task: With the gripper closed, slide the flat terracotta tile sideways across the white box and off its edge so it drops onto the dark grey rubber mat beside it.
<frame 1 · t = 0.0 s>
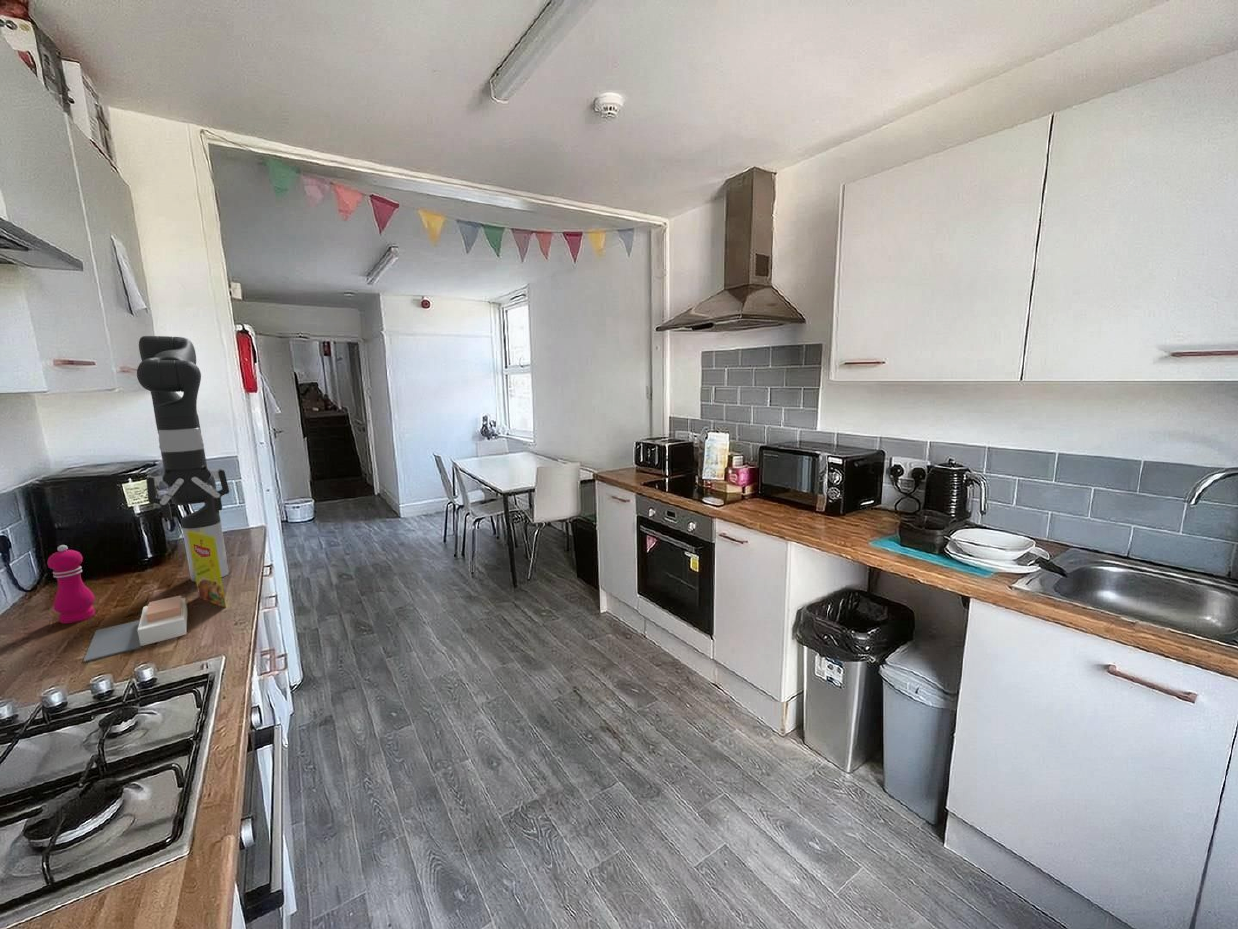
hand: (194, 516, 115), 29 cm above the countertop, tool pointing down, fingers open, 8 cm apart
white box: (165, 627, 122), on the countertop
terracotta tile: (165, 612, 121), point 4 cm above the countertop, touching white box
food package: (212, 602, 136), on the countertop
pepper mill: (78, 618, 128), on the countertop
rubber mat: (117, 639, 116), on the countertop
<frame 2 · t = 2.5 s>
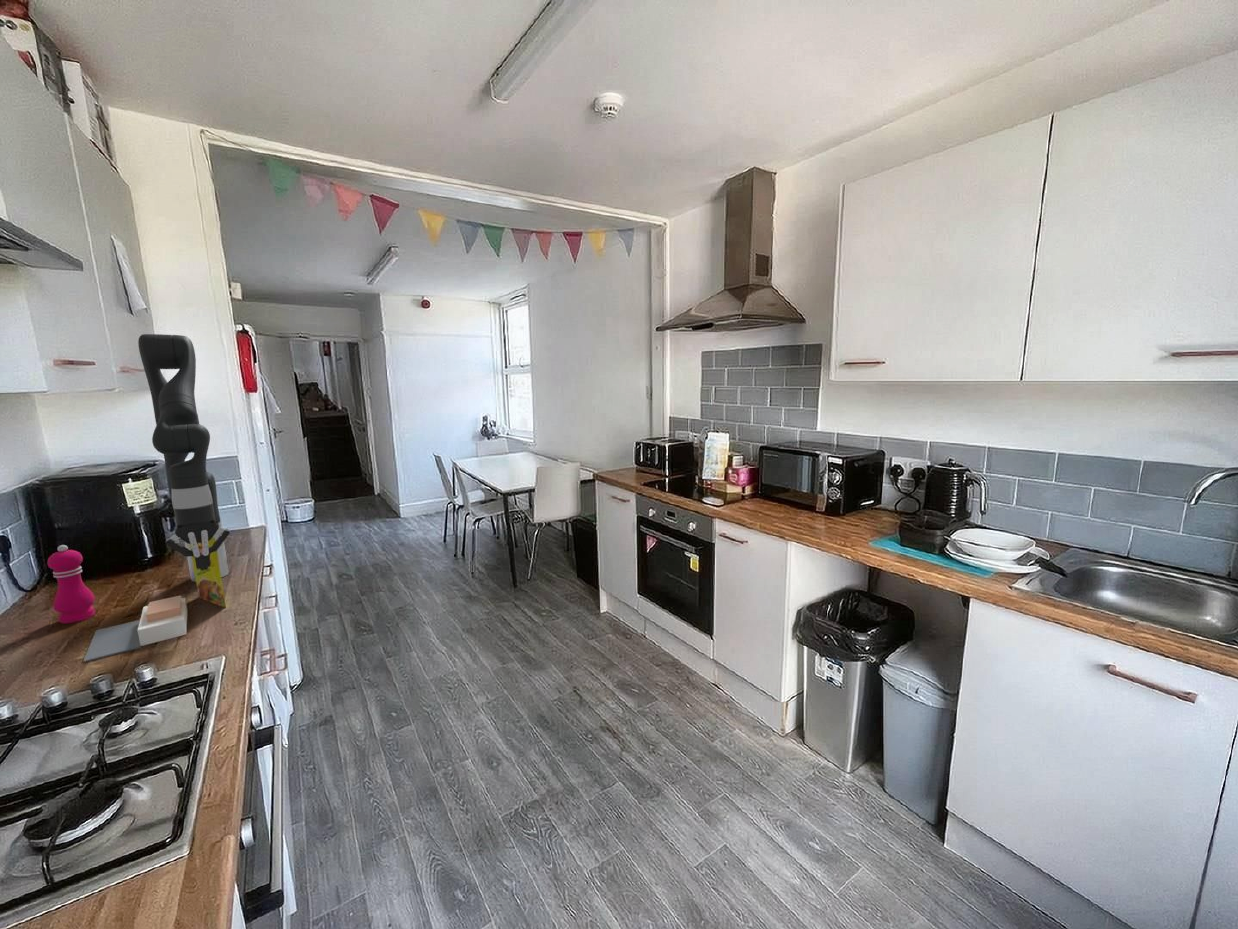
hand: (204, 569, 125), 13 cm above the countertop, tool pointing down, fingers closed
nothing on the countertop moved.
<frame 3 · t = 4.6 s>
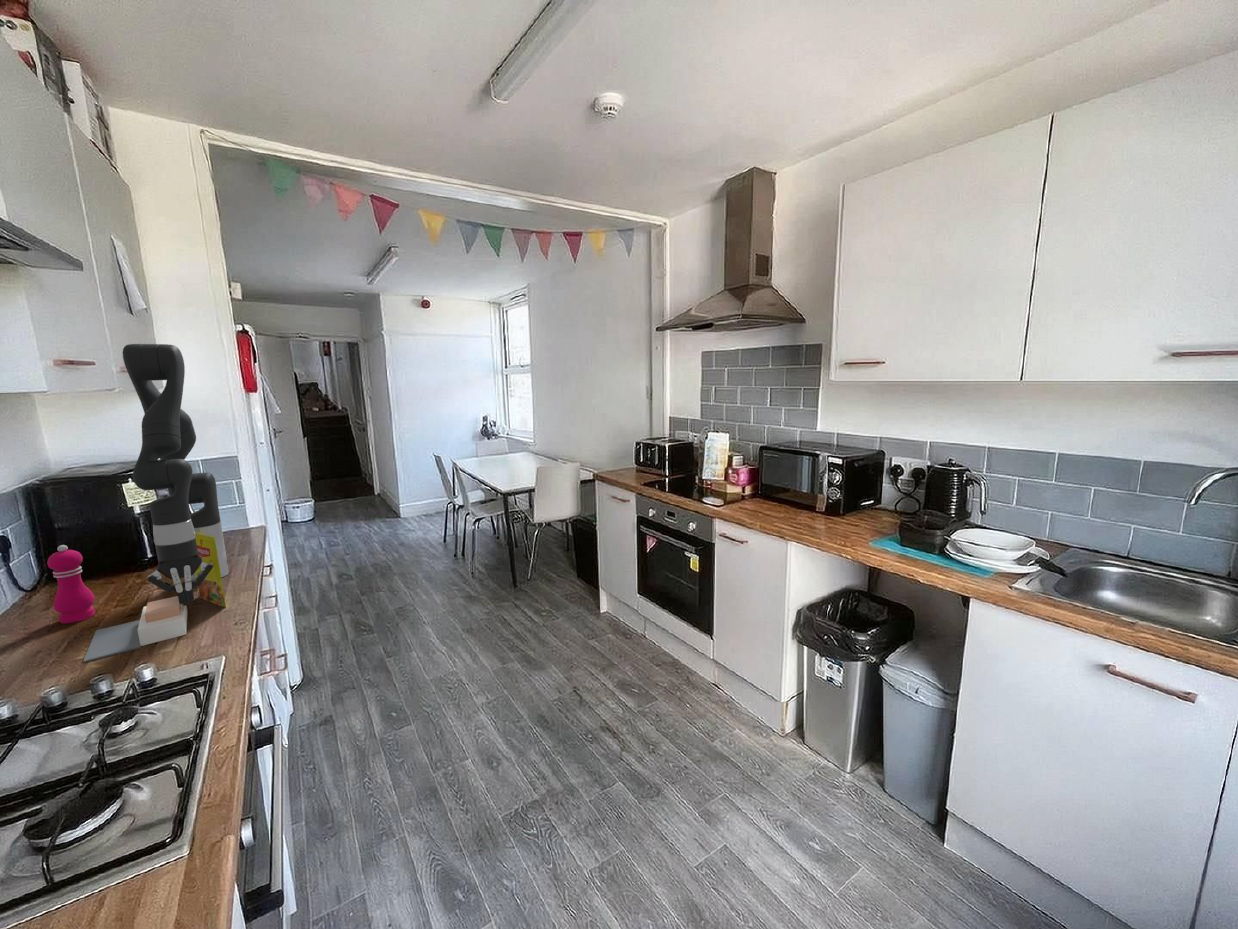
hand: (187, 604, 124), 5 cm above the countertop, tool pointing down, fingers closed
terracotta tile: (164, 612, 121), point 4 cm above the countertop, touching white box, gripper
everything else where it was.
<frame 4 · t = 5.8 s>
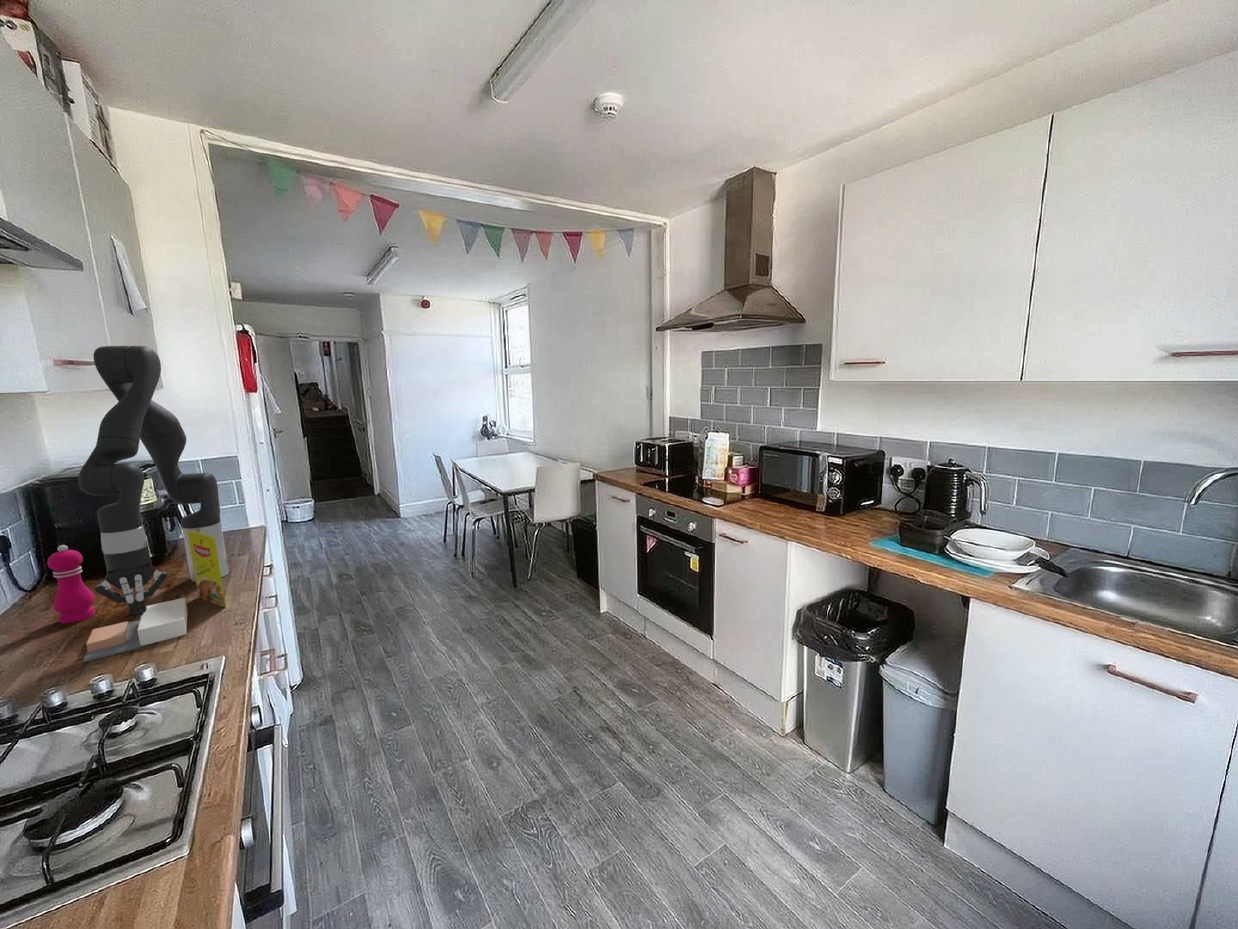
hand: (139, 615, 118), 5 cm above the countertop, tool pointing down, fingers closed
terracotta tile: (107, 632, 115), point 2 cm above the countertop, tilted 180°, touching rubber mat
everything else where it was.
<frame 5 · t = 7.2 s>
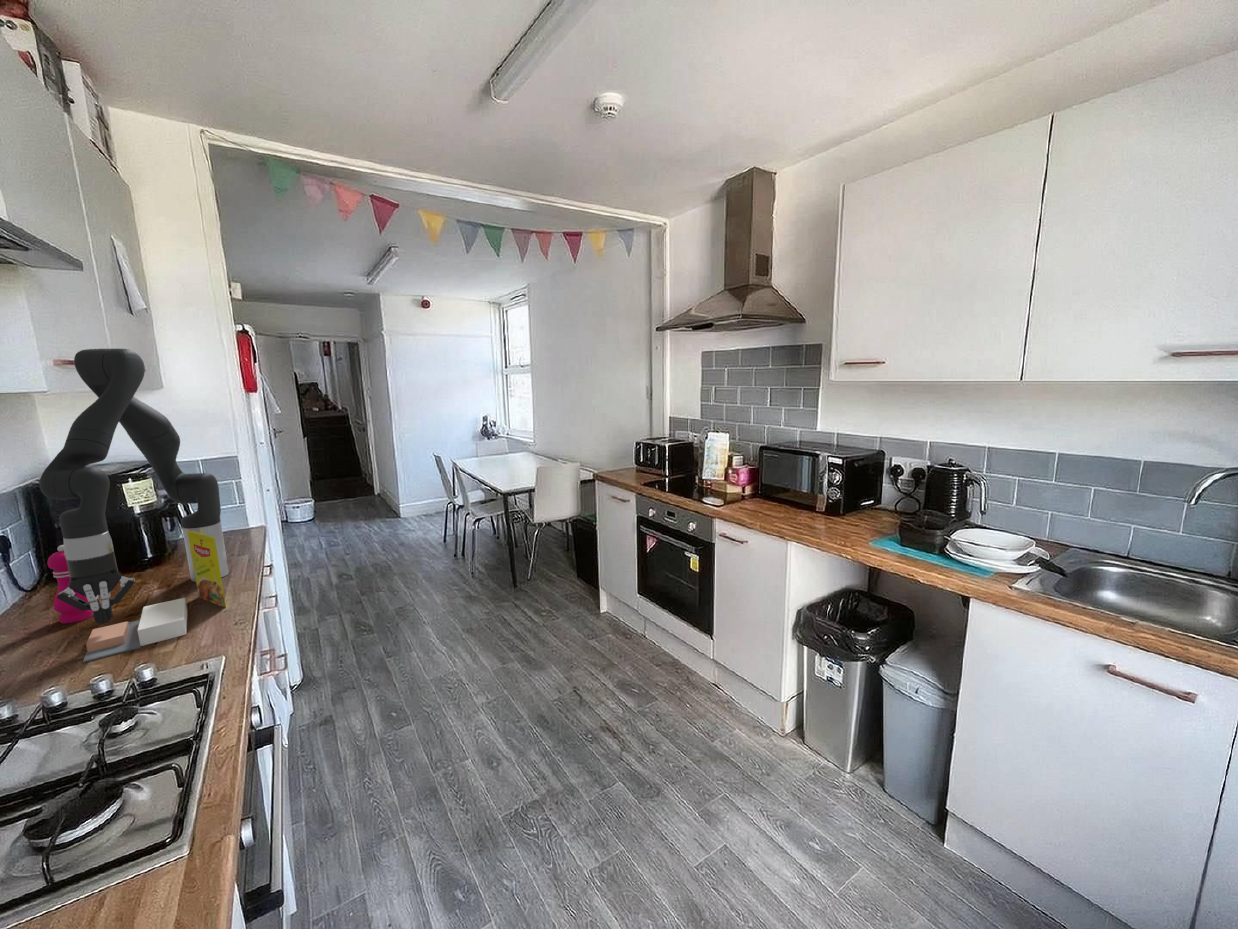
hand: (104, 623, 115), 5 cm above the countertop, tool pointing down, fingers closed
nothing on the countertop moved.
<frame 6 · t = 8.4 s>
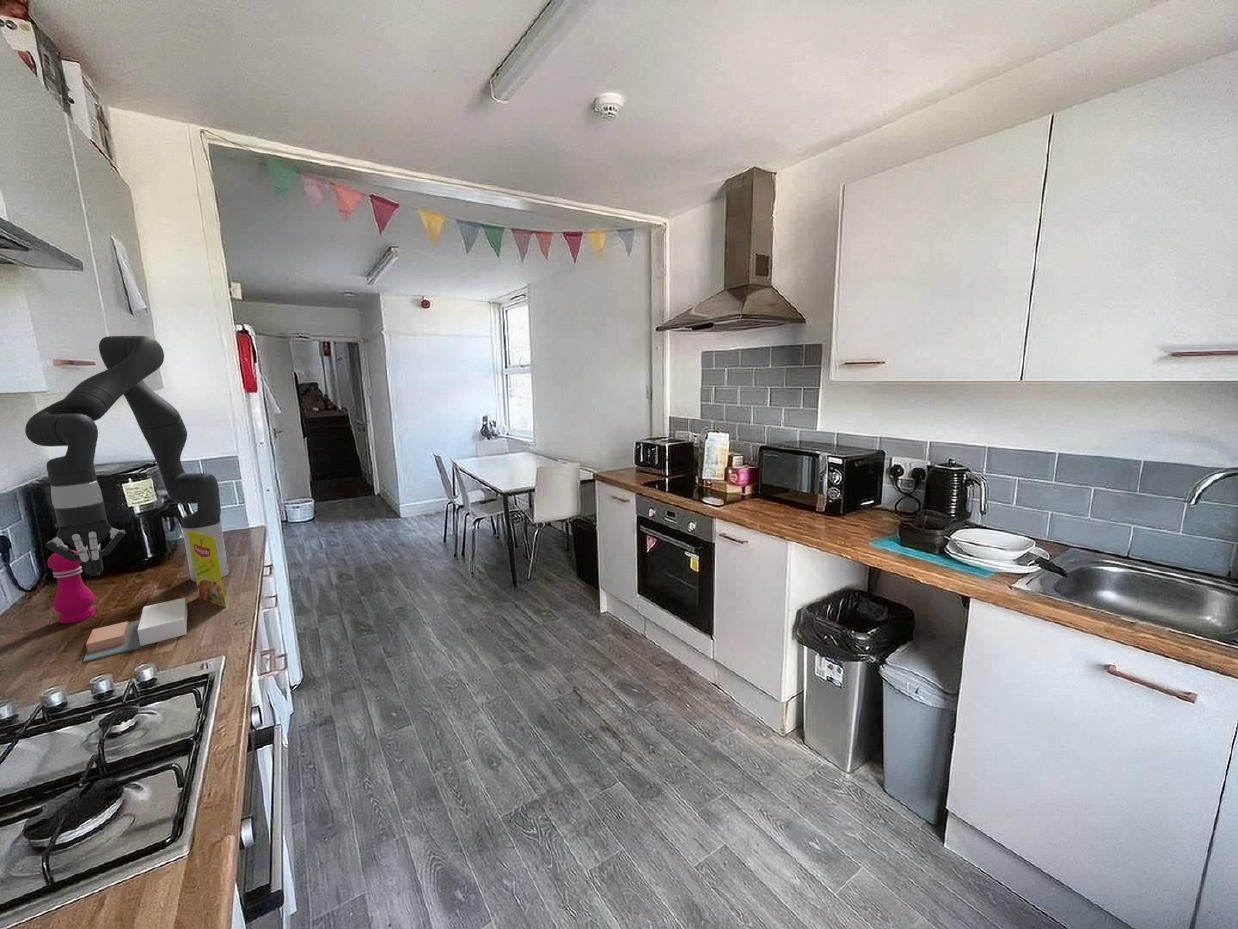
hand: (95, 574, 113), 17 cm above the countertop, tool pointing down, fingers closed
nothing on the countertop moved.
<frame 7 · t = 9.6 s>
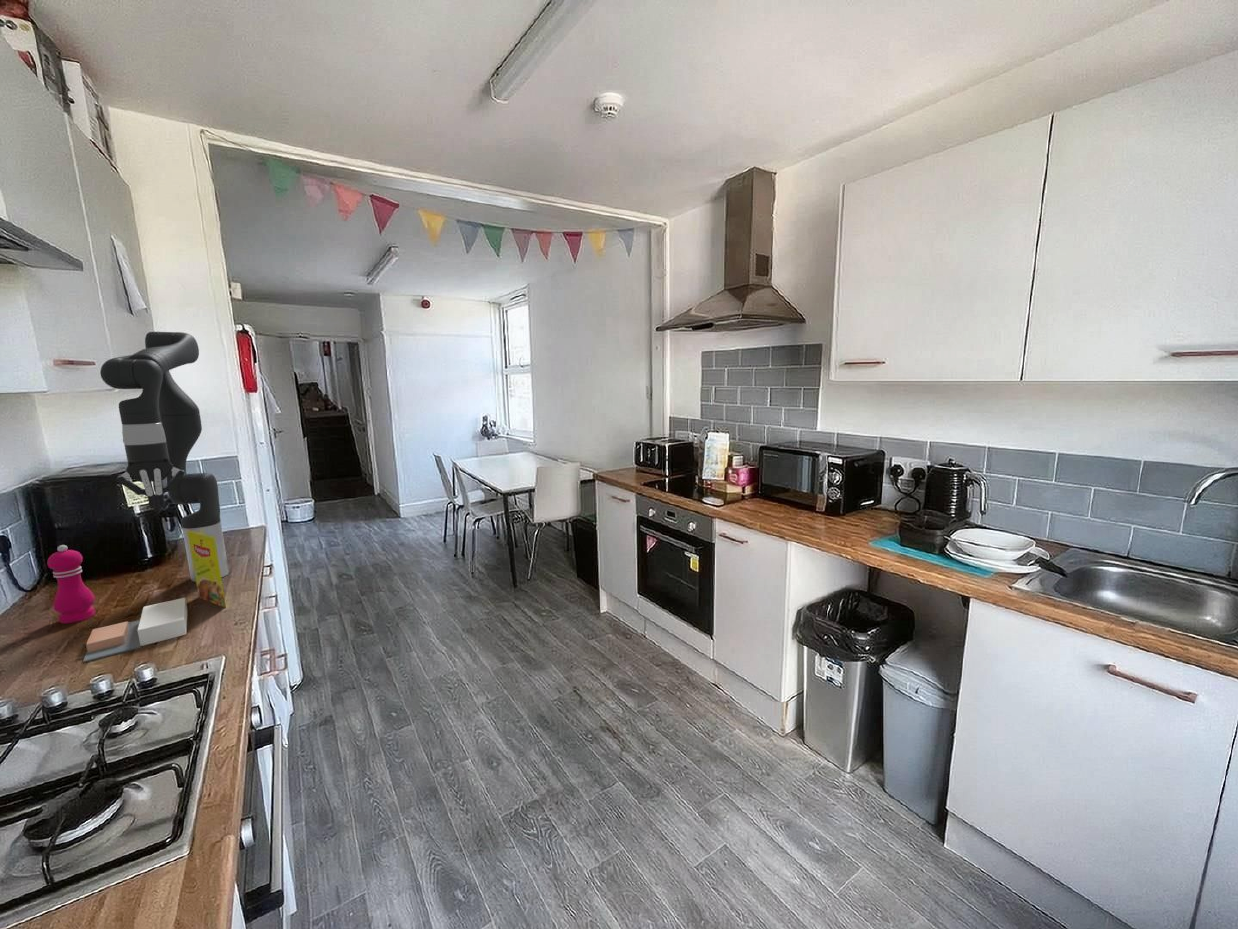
hand: (157, 509, 123), 29 cm above the countertop, tool pointing down, fingers closed
nothing on the countertop moved.
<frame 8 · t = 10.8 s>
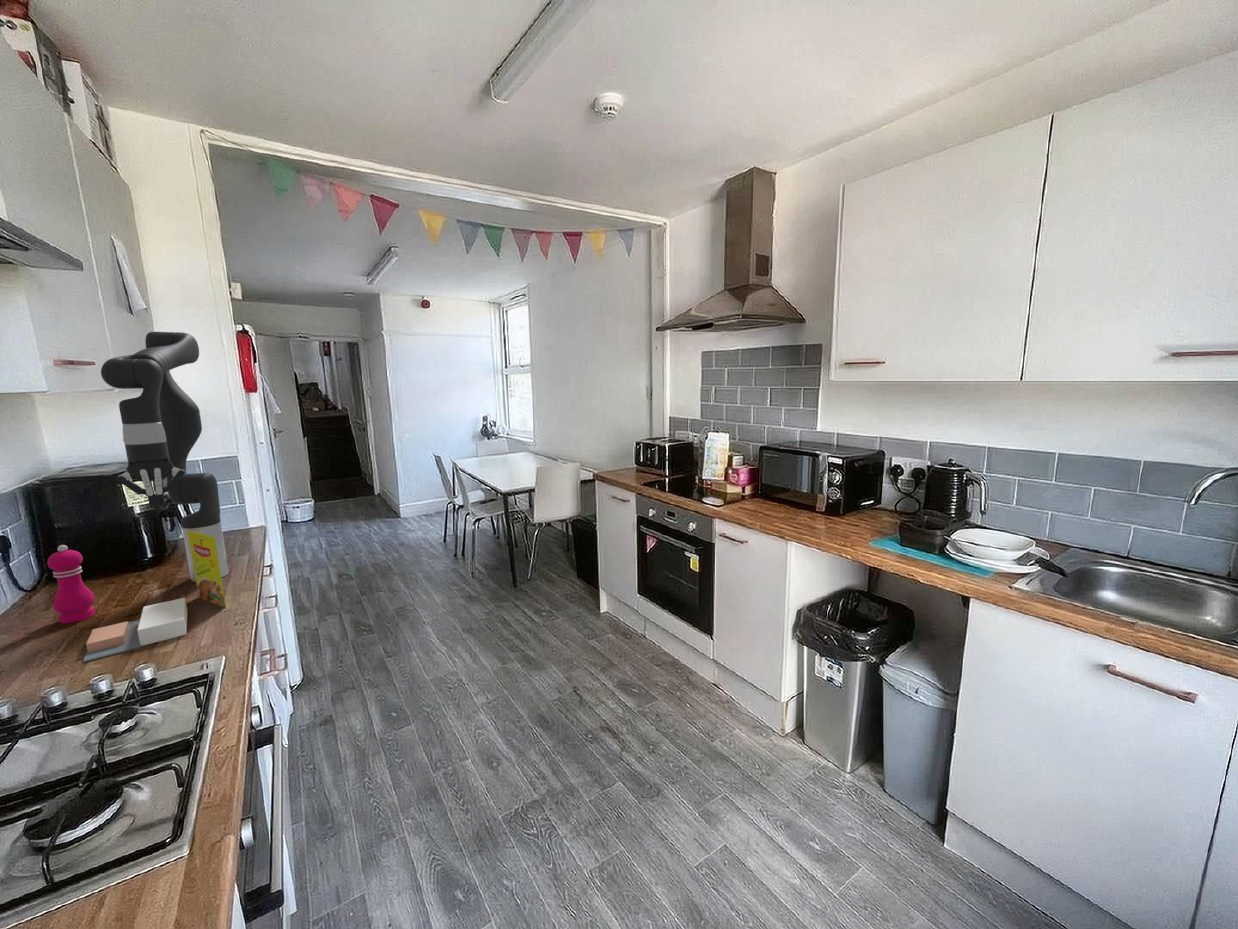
hand: (158, 508, 123), 29 cm above the countertop, tool pointing down, fingers closed
nothing on the countertop moved.
at the end: terracotta tile inside the target area (1.3 cm from its centre), point 2.4 cm above the countertop; terracotta tile touching rubber mat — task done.
